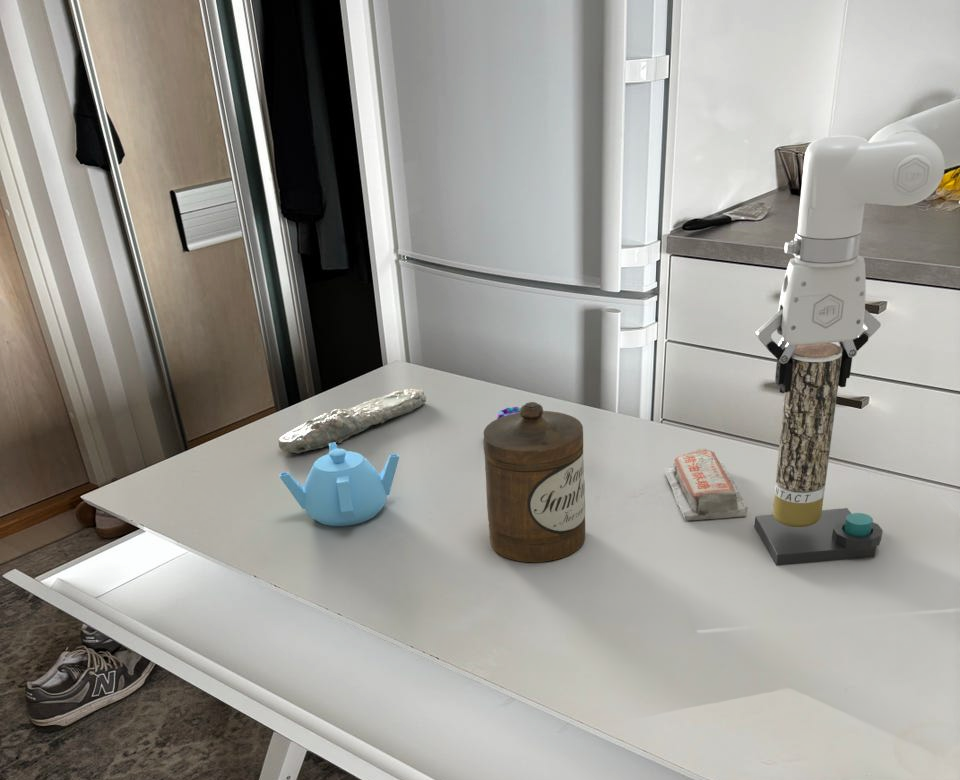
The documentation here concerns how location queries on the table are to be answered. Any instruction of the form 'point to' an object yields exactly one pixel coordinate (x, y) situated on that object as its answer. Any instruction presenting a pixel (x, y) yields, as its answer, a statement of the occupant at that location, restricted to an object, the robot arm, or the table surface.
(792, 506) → the paper tube
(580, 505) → the wooden container
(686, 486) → the packaged product
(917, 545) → the table surface
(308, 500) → the teapot
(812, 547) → the push button base
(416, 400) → the foil wrapped baguette
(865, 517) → the tare button
